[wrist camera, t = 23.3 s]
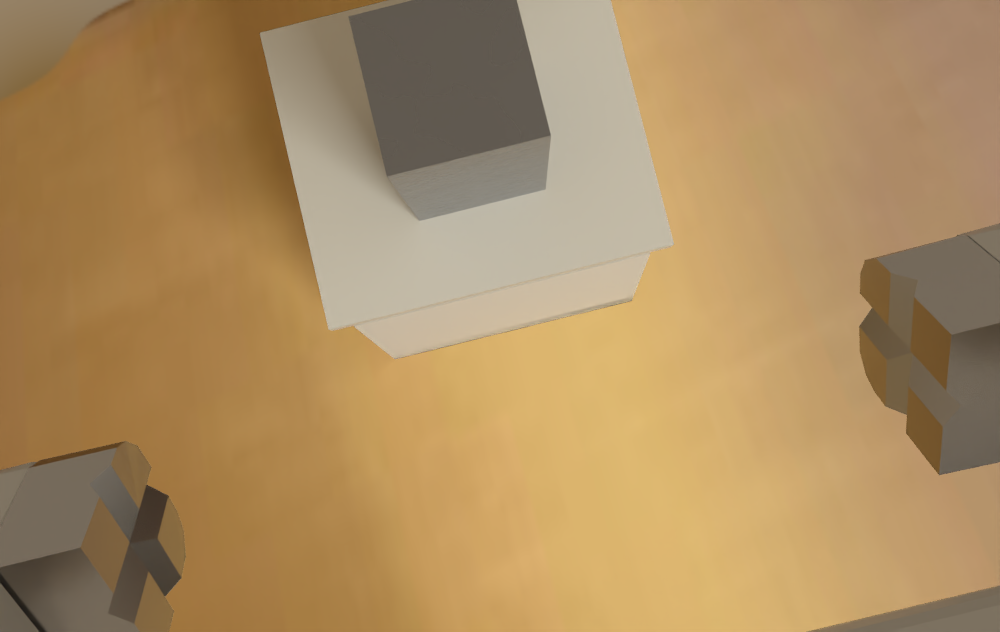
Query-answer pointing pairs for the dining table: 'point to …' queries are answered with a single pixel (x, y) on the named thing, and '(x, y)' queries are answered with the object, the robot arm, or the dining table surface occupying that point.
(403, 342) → the carton
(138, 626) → the robot arm
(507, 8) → the block
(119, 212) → the dining table surface
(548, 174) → the lid flap
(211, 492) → the dining table surface
